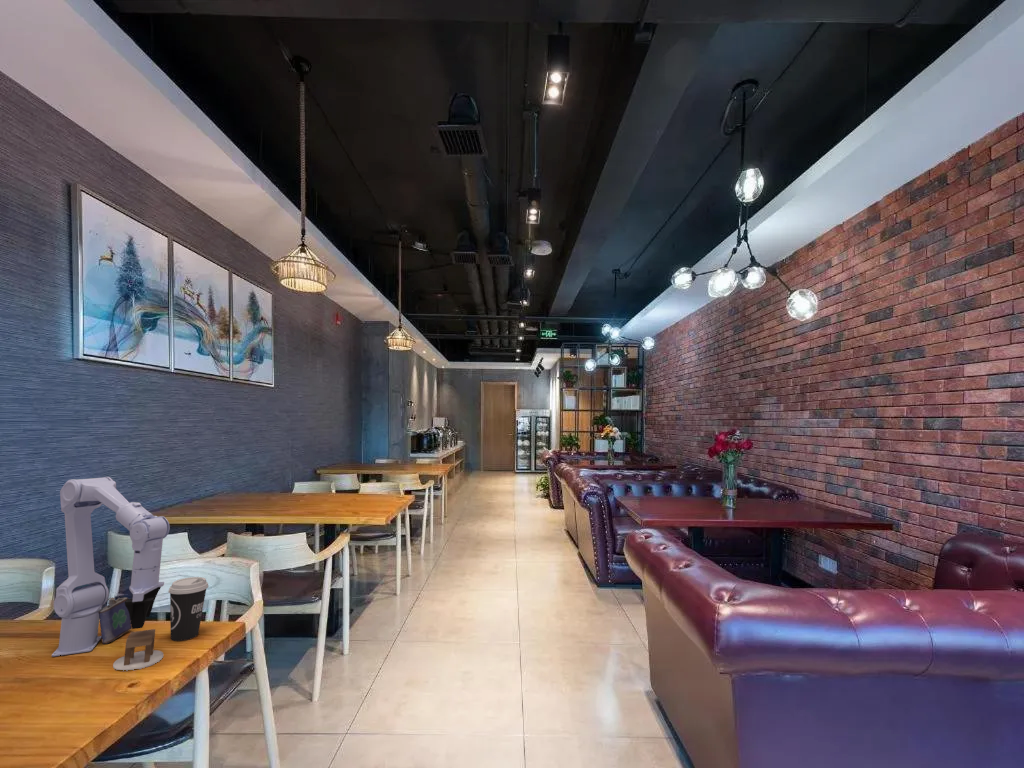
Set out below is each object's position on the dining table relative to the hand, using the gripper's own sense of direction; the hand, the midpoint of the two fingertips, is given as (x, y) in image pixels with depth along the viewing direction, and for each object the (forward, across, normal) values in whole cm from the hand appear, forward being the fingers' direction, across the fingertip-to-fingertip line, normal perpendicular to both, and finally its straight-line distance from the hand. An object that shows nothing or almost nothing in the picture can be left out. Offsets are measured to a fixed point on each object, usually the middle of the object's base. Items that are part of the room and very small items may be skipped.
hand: (141, 622), depth 122 cm
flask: (+9, +19, +8) cm, 23 cm away
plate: (+9, 0, 0) cm, 9 cm away
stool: (+9, 0, 0) cm, 9 cm away
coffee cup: (+10, +13, -8) cm, 18 cm away
